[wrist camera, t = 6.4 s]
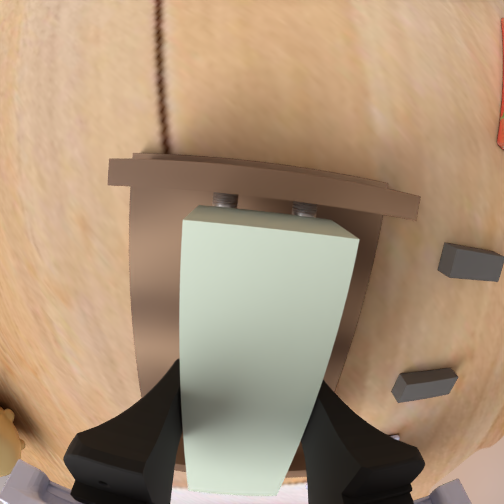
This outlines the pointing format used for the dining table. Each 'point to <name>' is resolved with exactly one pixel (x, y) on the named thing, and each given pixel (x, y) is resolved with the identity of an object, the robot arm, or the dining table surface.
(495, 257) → the block
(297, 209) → the shelf pegs
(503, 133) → the cracker box
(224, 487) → the shelf plank
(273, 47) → the dining table surface
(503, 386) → the dining table surface
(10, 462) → the yellow animal figurine
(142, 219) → the walnut carcass
